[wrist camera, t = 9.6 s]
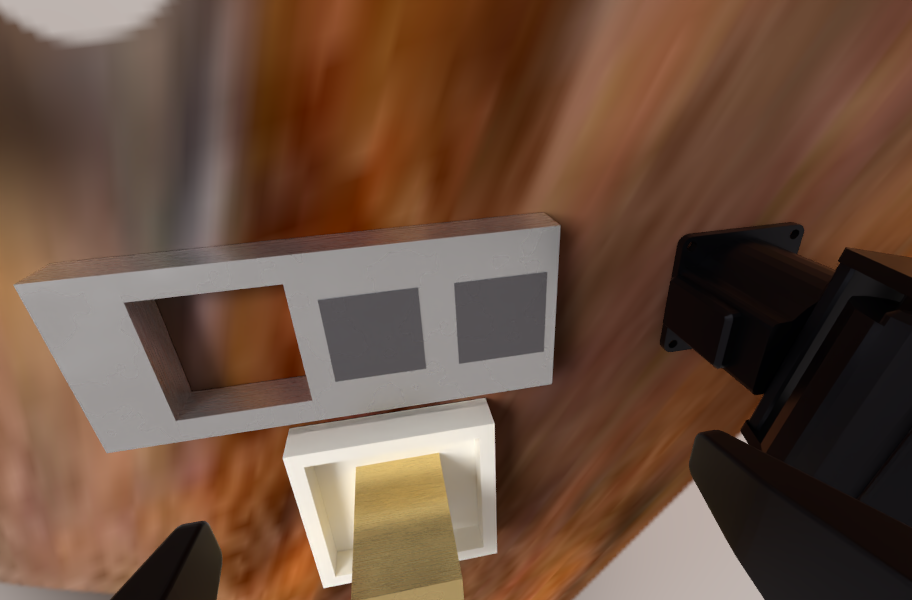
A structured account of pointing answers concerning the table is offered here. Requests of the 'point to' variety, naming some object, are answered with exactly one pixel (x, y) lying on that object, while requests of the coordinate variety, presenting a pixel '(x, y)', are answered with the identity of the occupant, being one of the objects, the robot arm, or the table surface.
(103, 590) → the table surface
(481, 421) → the tray
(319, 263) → the grey flat plate
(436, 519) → the wood grain block
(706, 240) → the robot arm
